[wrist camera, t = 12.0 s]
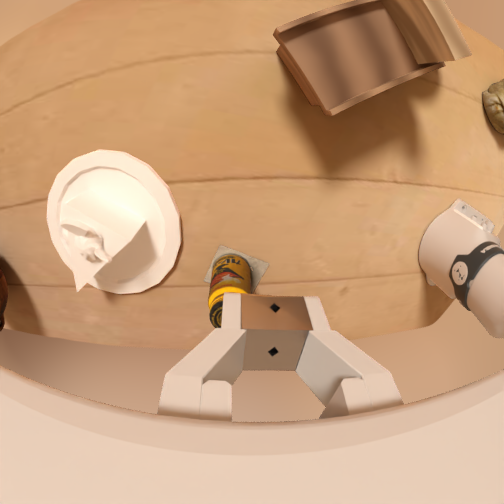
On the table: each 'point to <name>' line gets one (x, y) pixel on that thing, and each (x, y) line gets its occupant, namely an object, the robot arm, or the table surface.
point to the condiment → (231, 278)
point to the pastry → (495, 105)
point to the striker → (428, 30)
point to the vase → (2, 297)
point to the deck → (347, 54)
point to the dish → (114, 222)
